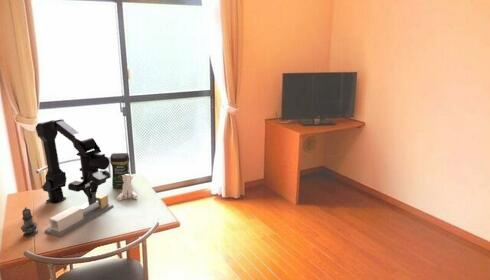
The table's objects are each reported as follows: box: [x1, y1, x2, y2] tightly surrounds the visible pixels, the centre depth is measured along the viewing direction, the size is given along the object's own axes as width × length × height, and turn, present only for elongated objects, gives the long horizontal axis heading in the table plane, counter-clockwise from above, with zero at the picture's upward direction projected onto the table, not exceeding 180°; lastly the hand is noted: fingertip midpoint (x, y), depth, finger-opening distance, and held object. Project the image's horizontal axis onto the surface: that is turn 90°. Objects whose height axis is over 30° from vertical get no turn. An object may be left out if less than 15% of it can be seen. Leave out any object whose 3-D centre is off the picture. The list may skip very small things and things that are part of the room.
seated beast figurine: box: [116, 173, 138, 201], centre depth 175 cm, size 10×9×12 cm
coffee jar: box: [109, 152, 131, 189], centre depth 186 cm, size 10×8×19 cm
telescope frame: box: [44, 192, 114, 238], centre depth 154 cm, size 9×29×6 cm, turn 156°
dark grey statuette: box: [20, 206, 39, 238], centre depth 141 cm, size 6×6×12 cm
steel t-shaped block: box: [78, 191, 101, 215], centre depth 157 cm, size 3×17×8 cm, turn 156°
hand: (91, 197), depth 159 cm, fingers closed
